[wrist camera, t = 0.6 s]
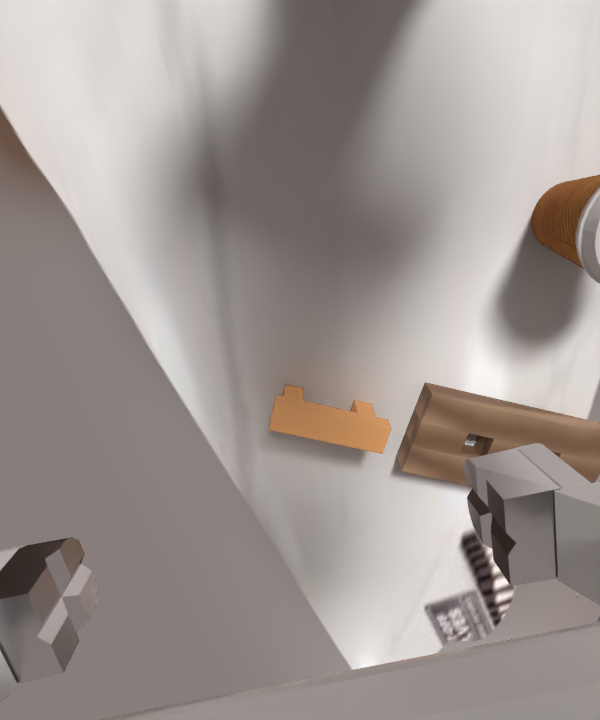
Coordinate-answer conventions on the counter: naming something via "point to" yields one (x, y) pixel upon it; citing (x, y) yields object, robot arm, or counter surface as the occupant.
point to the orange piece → (329, 422)
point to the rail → (489, 434)
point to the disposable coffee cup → (572, 222)
